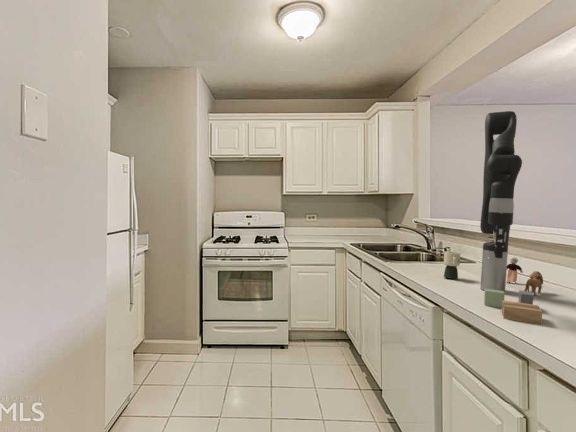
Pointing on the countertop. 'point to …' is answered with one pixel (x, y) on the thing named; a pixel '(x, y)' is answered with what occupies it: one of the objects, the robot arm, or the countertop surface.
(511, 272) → the grandmother figurine
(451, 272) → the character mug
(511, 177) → the robot arm
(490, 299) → the sage brick
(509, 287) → the countertop surface
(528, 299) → the charcoal brick
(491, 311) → the countertop surface
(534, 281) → the lion figurine
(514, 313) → the oak block
